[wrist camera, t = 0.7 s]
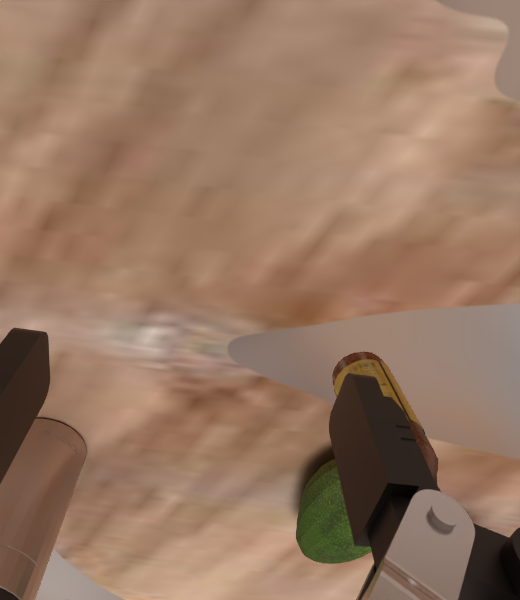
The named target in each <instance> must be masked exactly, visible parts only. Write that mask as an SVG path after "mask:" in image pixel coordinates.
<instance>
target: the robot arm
mask: <svg viewBox="0 0 520 600" xmlns="http://www.w3.org/2000/svg"><path fill="white" fill-rule="evenodd" d="M49 384H50V367H49V343H48V335H47V333H46V332H42V331H34V330H27V329H20V328H13V329H12V330H11V331H10V332H9V333H8V335H7V336H6V337H5V338H4V340H3V341H2V342H1V344H0V600H35V598H36V595H37V592H38V590H39V587H40V584H41V580H42V578H43V575H44V572H45V570H46V567H47V564H48V561H49V558H50V556H51V552H52V550H53V547H54V544H55V542H56V539H57V536H58V533H59V530H60V528H61V525H62V522H63V519H64V516H65V514H66V511H67V508H68V505H69V502H70V500H71V497H72V494H73V491H74V488H75V486H76V483H77V480H78V477H79V474H80V472H81V469H82V466H83V463H84V460H85V457H86V447H85V443H84V441H83V440H82V438H81V437H80V436H79V435H78V434H77V433H76V432H75V431H74V430H73V429H71V428H70V427H68V426H66V425H64V424H62V423H60V422H57V421H53V420H48V419H35V418H36V417H37V415H38V413H39V411H40V409H41V407H42V405H43V403H44V401H45V399H46V396H47V393H48V389H49ZM329 433H330V438H331V443H332V447H333V452H334V456H335V461H336V465H337V470H338V474H339V478H340V483H341V487H342V492H343V496H344V501H345V505H346V510H347V514H348V519H349V523H350V528H351V532H352V536H353V541H354V545H355V546H363V547H371V550H372V554H373V558H374V564H373V566H372V568H371V570H370V572H369V574H368V576H367V578H366V580H365V582H364V584H363V586H362V588H361V590H360V593H359V595H358V597H357V599H356V600H520V528H518V529H517V530H516V531H515V532H514V533H513V534H512V535H511V537H510V538H508V537H506V536H503V535H501V534H498V533H496V532H493V531H491V530H488V529H486V528H483V527H481V526H478V525H476V524H474V523H473V522H472V520H471V518H470V516H469V515H468V513H467V512H466V511H465V509H464V508H463V507H462V506H461V505H460V504H459V503H458V502H457V501H455V500H454V499H453V498H451V497H450V496H448V495H446V494H444V493H442V492H439V490H438V488H437V485H436V483H435V481H434V479H433V476H432V474H431V472H430V469H429V467H428V465H427V463H426V460H425V458H424V456H423V453H422V451H421V449H420V446H419V444H418V443H416V437H415V435H414V433H413V430H411V426H410V424H409V421H408V419H407V417H406V414H405V412H404V411H403V410H402V408H401V407H400V406H399V405H398V404H397V403H396V402H395V401H394V399H393V398H392V397H387V396H384V395H383V393H382V390H381V388H380V385H379V383H378V380H377V379H376V377H374V376H367V375H360V374H353V373H348V374H347V375H346V376H345V378H344V380H343V383H342V385H341V388H340V391H339V393H338V396H337V398H336V401H335V404H334V406H333V409H332V411H331V415H330V421H329Z"/></svg>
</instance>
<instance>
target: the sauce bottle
mask: <svg viewBox="0 0 520 600" xmlns="http://www.w3.org/2000/svg"><path fill="white" fill-rule="evenodd" d="M348 373H353V374H360V375H367V376H374V377H376V379H377V380H378V383H379V385H380V388H381V390H382V393H383V395H384V396H387V397H392V398H393V399H394V401H395V402H396V403H397V404H398V405H399V406H400V407H401V408H402V410H403V411H404V412H405V414H406V417H407V419H408V421H409V424H410V426H411V430H413V433H414V435H415V437H416V443H418V444H419V446H420V449H421V451H422V453H423V456H424V458H425V460H426V463H427V465H428V467H429V469H430V472H431V474H432V476H433V479H434V481H435V483H436V485H437V471H438V458H437V457H436V454H435V452H434V450H433V448H432V446H431V445H430V443H429V441H428V439H427V437H426V436H425V432H424V429H423V428H422V426H421V424H420V422H419V421H418V419H417V417H416V415H415V414H414V412H413V410H412V408H411V406H410V405H409V403H408V401H407V399H406V398H405V396H404V394H403V392H402V390H401V389H400V387H399V385H398V383H397V382H396V380H395V378H394V376H393V375H392V373H391V371H390V369H389V368H388V366H387V365H386V364H385V363H384V362H383V361H382V359H380V358H379V357H378V356H376V355H375V354H373V353H369V352H360V353H353V354H350V355H348V356H346V357H344V358H343V359H342V360H341V361H340V362H338V364H337V366H336V367H335V369H334V371H333V385H334V391H335V394H336V396H338V393H339V391H340V388H341V385H342V383H343V380H344V378H345V376H346V375H347V374H348ZM437 488H438V485H437ZM438 490H439V492H441V491H440V489H439V488H438Z"/></svg>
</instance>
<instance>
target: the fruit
mask: <svg viewBox="0 0 520 600" xmlns="http://www.w3.org/2000/svg"><path fill="white" fill-rule="evenodd" d="M296 539H297V542H298V544H299V546H300V549H301V551H302V553H303V554H304V555H305V556H306V557H308V558H310V559H311V560H313V561H316V562H320V563H329V564H333V563H343V562H349V561H352V560H355V559H357V558H360V557H363V556H364V555H366V554H368V553H370V552H371V551H372V550H371V547H363V546H355V545H354V541H353V536H352V532H351V528H350V523H349V519H348V514H347V510H346V505H345V501H344V496H343V492H342V487H341V483H340V478H339V474H338V470H337V465H336V461H335V459H332V460H331V461H329V462H327V463H326V464H324V465H322V466H321V467H320V468H319V470H318V471H317V472H316V473H315V474H314V475H313V477H312V478H311V479H310V480H309V481H308V483H307V484H306V486H305V489H304V491H303V494H302V498H301V503H300V508H299V513H298V519H297V529H296Z"/></svg>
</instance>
